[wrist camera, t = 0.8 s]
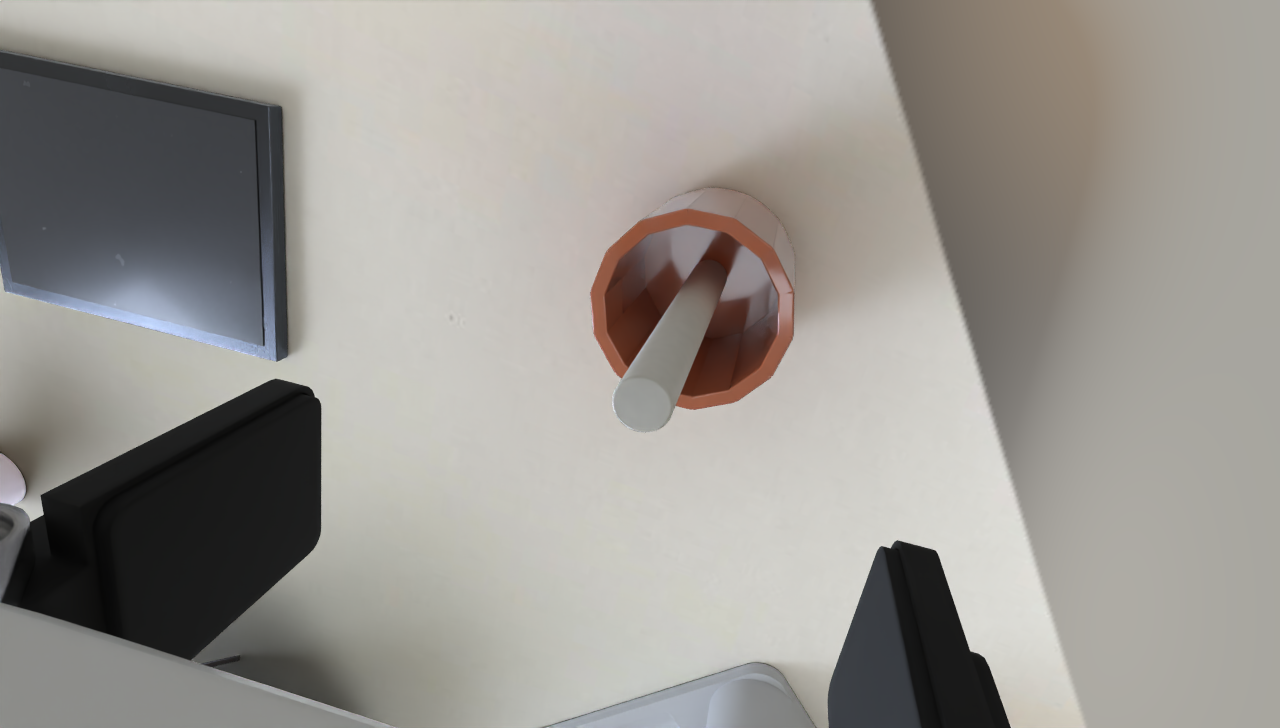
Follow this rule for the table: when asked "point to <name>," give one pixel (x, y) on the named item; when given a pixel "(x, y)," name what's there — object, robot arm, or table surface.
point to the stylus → (669, 352)
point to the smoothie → (10, 482)
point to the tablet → (143, 203)
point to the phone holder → (709, 704)
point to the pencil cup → (747, 309)
